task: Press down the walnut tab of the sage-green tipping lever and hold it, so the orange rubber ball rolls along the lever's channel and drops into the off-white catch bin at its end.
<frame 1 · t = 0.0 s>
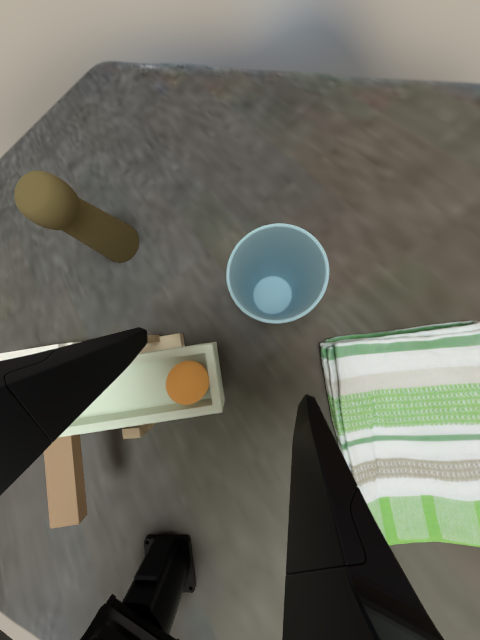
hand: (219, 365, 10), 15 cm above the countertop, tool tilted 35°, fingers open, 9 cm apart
olive knobbed post: (122, 243, 28), on the countertop
ball: (188, 381, 18), point 7 cm above the countertop, tilted 5°, touching lever
catch bin: (63, 384, 28), on the countertop
dish towel: (404, 424, 22), on the countertop
cup: (272, 296, 24), on the countertop
lever: (129, 436, 19), point 7 cm above the countertop, hinge at 8.0°, touching ball
lever stand: (161, 372, 26), on the countertop
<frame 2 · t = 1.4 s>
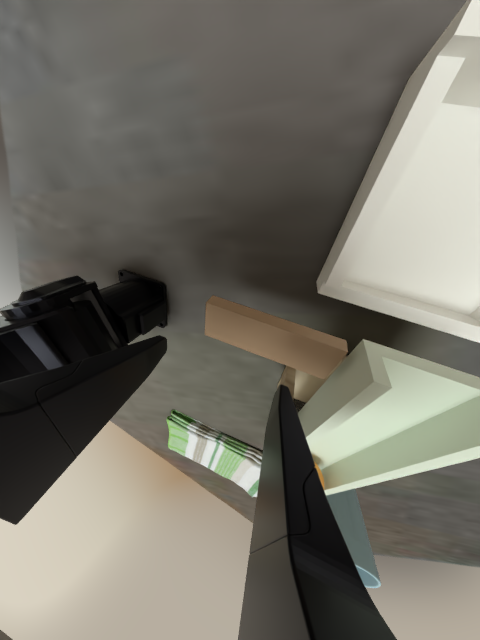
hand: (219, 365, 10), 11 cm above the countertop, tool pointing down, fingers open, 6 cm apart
catch bin: (442, 225, 12), on the countertop
dish towel: (219, 447, 40), on the countertop
cup: (330, 464, 30), on the countertop
lever: (281, 418, 16), point 7 cm above the countertop, hinge at 8.0°, touching ball
lever stand: (329, 380, 21), on the countertop
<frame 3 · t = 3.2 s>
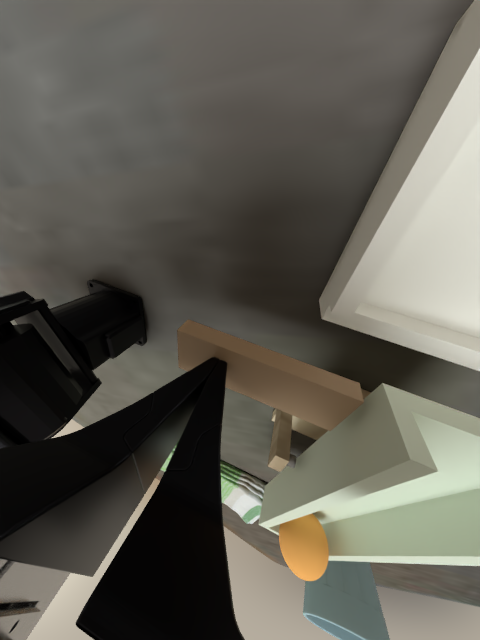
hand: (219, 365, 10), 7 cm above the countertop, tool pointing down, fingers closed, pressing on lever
ball: (302, 540, 16), point 8 cm above the countertop, touching lever
dish towel: (211, 469, 37), on the countertop
cup: (332, 496, 26), on the countertop
lever: (276, 470, 13), point 7 cm above the countertop, hinge at 4.4°, touching ball, gripper
lever stand: (333, 411, 18), on the countertop
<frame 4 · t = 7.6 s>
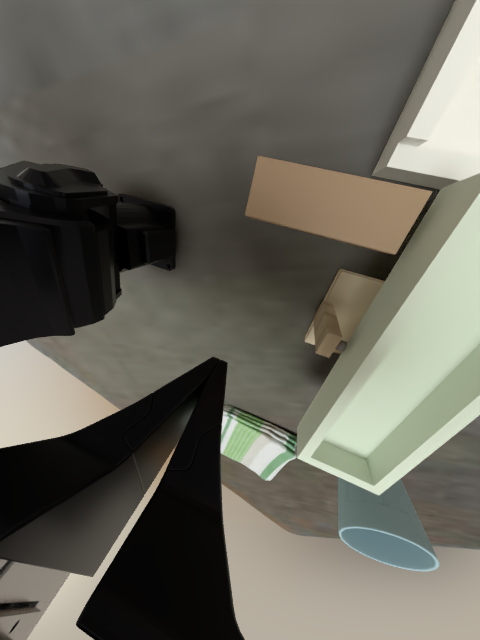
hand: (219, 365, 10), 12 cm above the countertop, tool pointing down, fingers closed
dish towel: (229, 426, 36), on the countertop
cup: (358, 437, 26), on the countertop
lever: (329, 347, 13), point 7 cm above the countertop, hinge at -7.6°
lever stand: (371, 322, 18), on the countertop
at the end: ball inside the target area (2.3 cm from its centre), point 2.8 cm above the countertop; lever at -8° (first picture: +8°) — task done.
